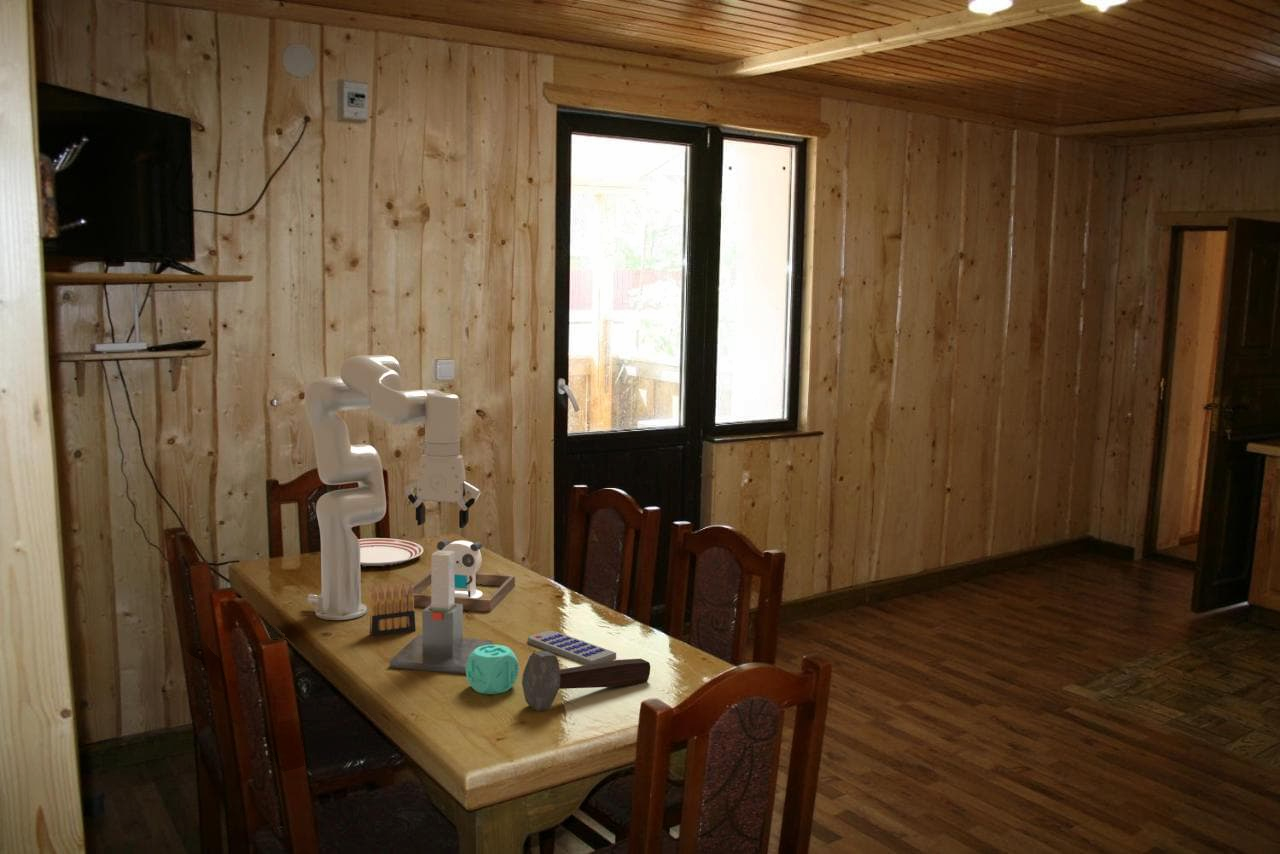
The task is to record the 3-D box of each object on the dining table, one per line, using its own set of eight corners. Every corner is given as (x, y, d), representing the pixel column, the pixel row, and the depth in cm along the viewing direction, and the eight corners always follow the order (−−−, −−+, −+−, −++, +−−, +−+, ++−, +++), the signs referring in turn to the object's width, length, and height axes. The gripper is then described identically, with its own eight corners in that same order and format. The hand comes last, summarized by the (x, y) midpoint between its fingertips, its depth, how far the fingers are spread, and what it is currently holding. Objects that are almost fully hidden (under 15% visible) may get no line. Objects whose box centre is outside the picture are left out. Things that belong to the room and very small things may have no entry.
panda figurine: (430, 598, 281) (430, 543, 279) (449, 587, 292) (449, 534, 290) (471, 603, 278) (472, 548, 276) (489, 591, 288) (489, 538, 286)
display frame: (401, 604, 275) (401, 593, 274) (432, 580, 298) (432, 569, 298) (490, 611, 271) (490, 600, 271) (515, 585, 295) (515, 575, 294)
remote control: (591, 669, 234) (591, 659, 234) (524, 643, 249) (524, 634, 249) (616, 660, 240) (616, 651, 240) (549, 635, 255) (549, 627, 255)
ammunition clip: (371, 636, 250) (371, 587, 248) (369, 634, 251) (369, 585, 250) (415, 631, 255) (415, 582, 253) (413, 628, 256) (413, 580, 255)
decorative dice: (490, 697, 215) (490, 660, 214) (464, 687, 221) (465, 650, 219) (519, 687, 221) (519, 650, 220) (493, 677, 227) (494, 641, 225)
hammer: (635, 692, 230) (518, 705, 211) (642, 642, 229) (526, 650, 211) (649, 699, 226) (531, 713, 207) (656, 648, 226) (539, 657, 207)
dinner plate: (442, 557, 323) (442, 547, 323) (375, 577, 301) (375, 565, 300) (378, 543, 338) (378, 533, 338) (310, 561, 315) (310, 550, 315)
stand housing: (389, 667, 230) (389, 616, 229) (418, 640, 248) (418, 593, 247) (468, 674, 228) (469, 622, 226) (492, 646, 245) (493, 598, 244)
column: (430, 626, 235) (431, 554, 233) (437, 620, 239) (437, 550, 237) (448, 627, 235) (448, 555, 232) (454, 622, 239) (454, 551, 236)
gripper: (398, 450, 230) (398, 526, 232) (475, 454, 227) (474, 531, 230) (411, 444, 237) (411, 519, 239) (485, 449, 235) (484, 524, 237)
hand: (442, 525), depth 234 cm, fingers open, 9 cm apart
